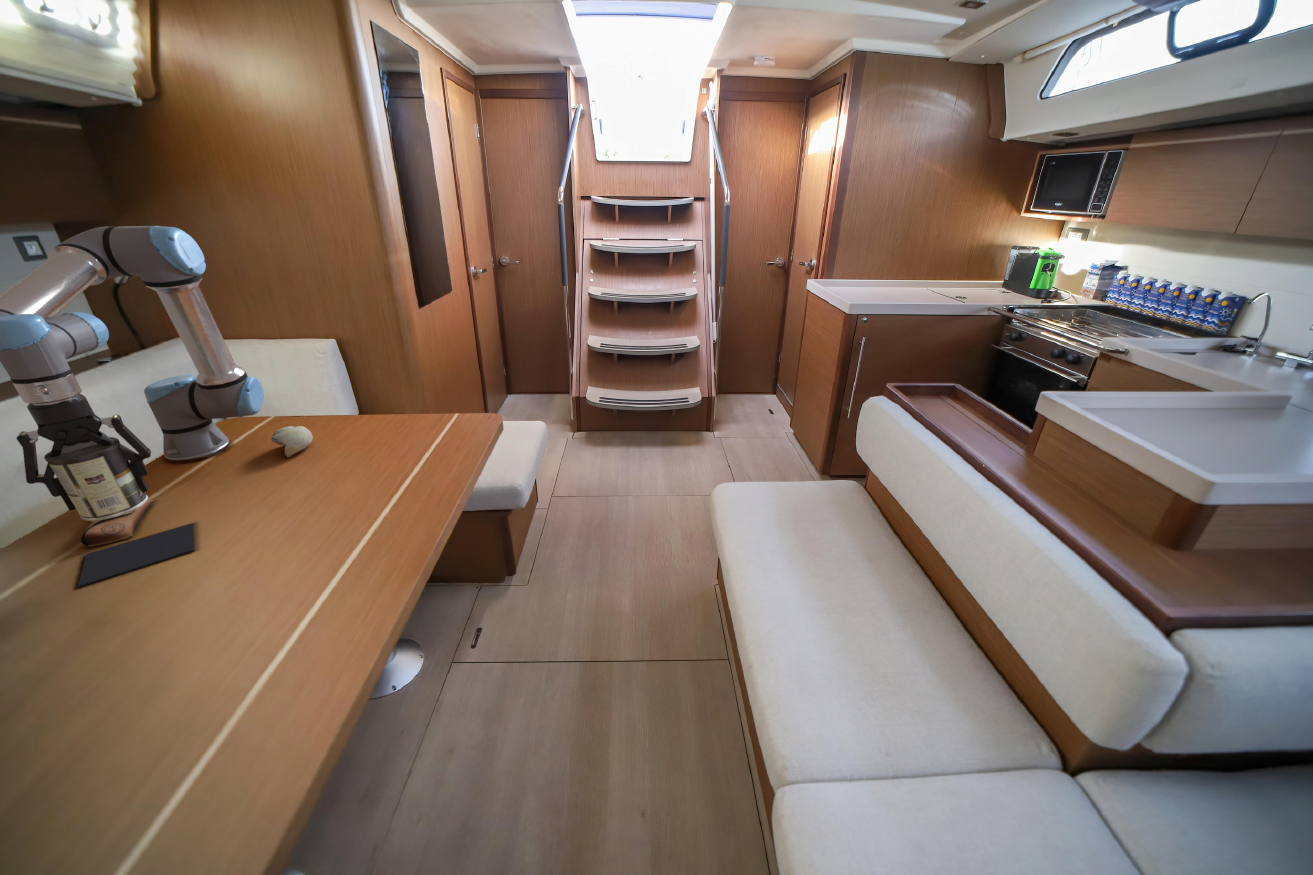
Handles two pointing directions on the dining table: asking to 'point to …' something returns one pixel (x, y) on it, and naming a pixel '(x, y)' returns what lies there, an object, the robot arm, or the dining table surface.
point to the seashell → (292, 439)
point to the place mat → (137, 554)
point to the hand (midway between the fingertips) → (110, 498)
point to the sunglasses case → (113, 527)
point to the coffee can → (97, 480)
